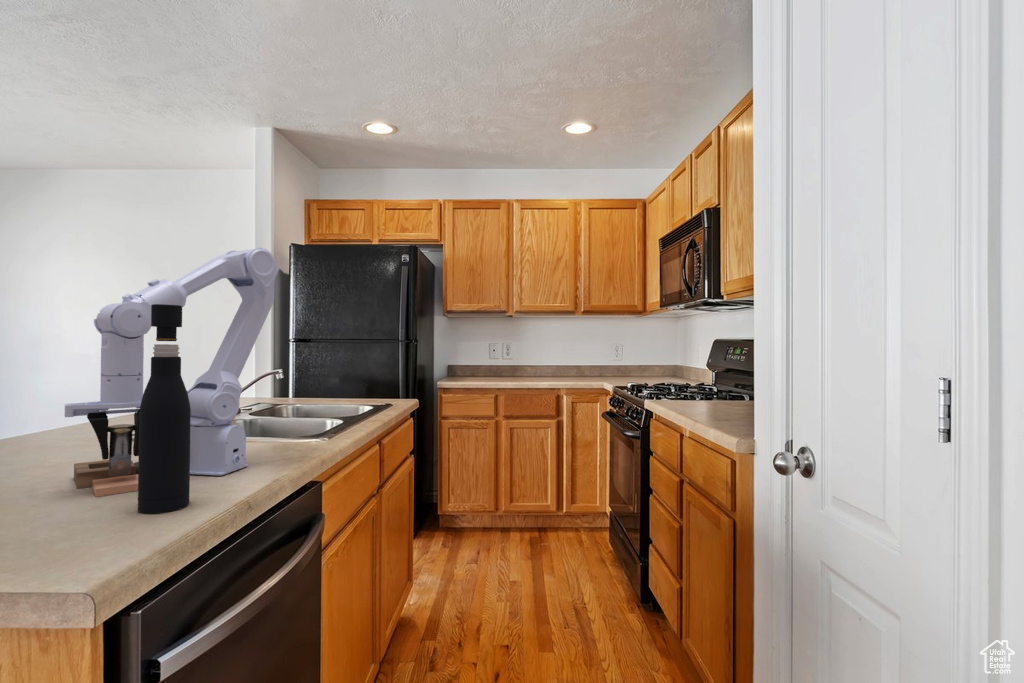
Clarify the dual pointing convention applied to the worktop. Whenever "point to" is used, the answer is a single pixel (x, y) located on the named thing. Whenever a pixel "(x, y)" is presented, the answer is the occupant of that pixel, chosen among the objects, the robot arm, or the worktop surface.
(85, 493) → the worktop surface
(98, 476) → the clamp block
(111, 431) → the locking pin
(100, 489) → the tile pad
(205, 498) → the worktop surface
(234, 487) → the worktop surface
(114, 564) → the worktop surface
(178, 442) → the black water bottle
